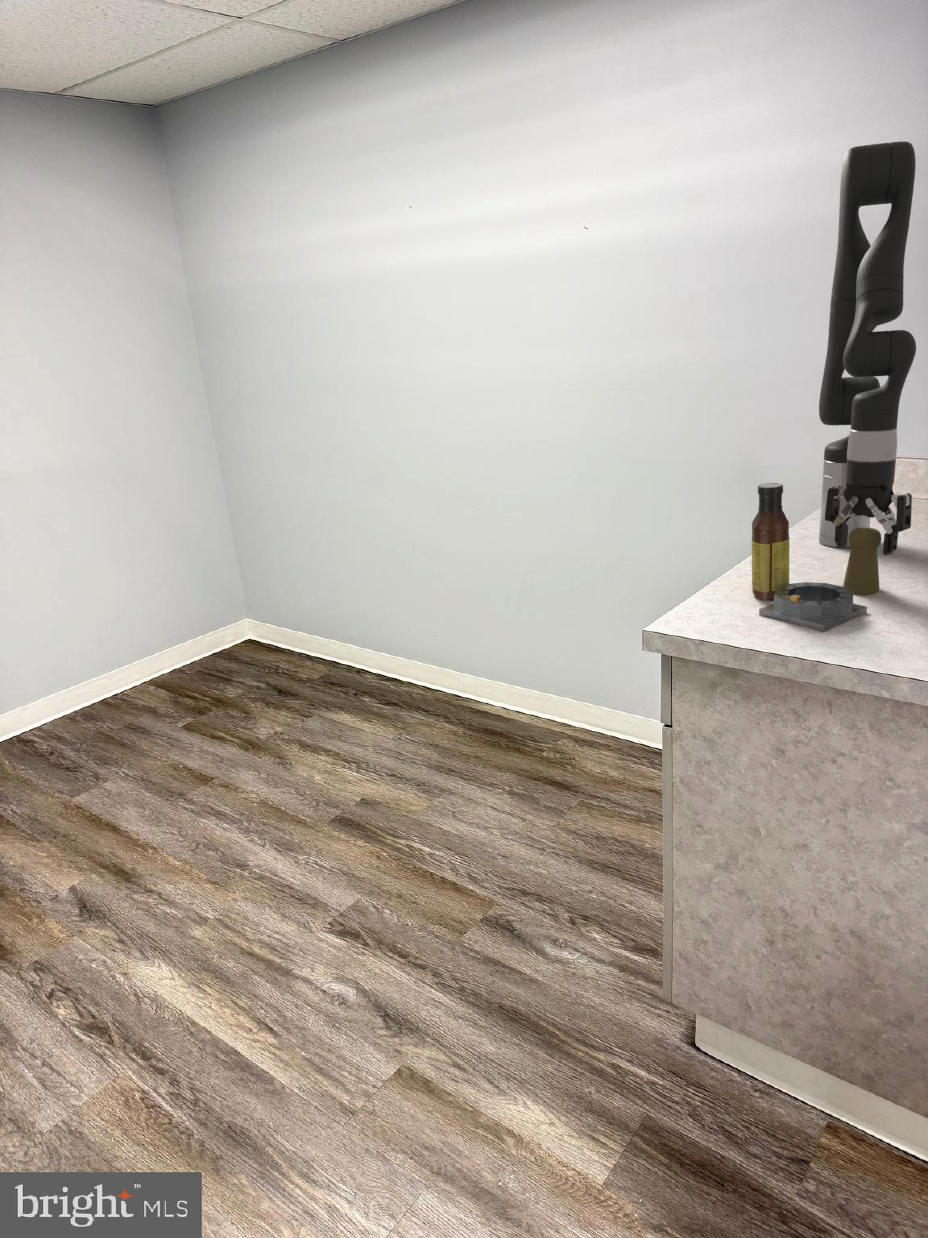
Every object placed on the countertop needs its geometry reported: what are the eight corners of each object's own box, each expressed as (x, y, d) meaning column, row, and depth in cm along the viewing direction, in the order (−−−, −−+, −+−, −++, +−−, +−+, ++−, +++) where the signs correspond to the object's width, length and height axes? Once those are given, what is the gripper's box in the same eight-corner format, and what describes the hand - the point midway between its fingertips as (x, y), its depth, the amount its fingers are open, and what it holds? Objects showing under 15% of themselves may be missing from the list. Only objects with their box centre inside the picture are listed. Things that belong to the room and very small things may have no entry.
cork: (883, 594, 155) (888, 532, 151) (845, 595, 156) (850, 533, 152) (875, 584, 160) (880, 523, 157) (839, 584, 162) (843, 524, 158)
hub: (801, 597, 157) (803, 573, 155) (866, 612, 147) (868, 587, 146) (759, 614, 150) (760, 590, 149) (824, 631, 141) (825, 605, 139)
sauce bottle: (788, 590, 160) (794, 480, 154) (788, 602, 155) (794, 488, 148) (750, 589, 162) (754, 480, 156) (748, 600, 157) (752, 488, 150)
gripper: (925, 456, 147) (916, 552, 152) (844, 449, 158) (838, 539, 163) (900, 462, 143) (892, 561, 148) (819, 456, 154) (814, 548, 159)
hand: (864, 550), depth 155 cm, fingers open, 8 cm apart
